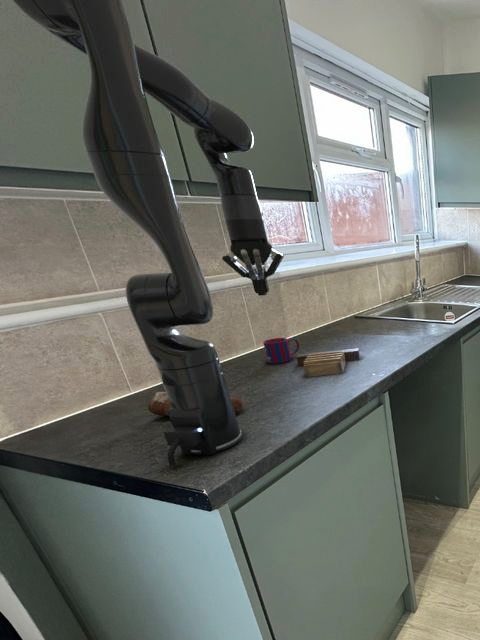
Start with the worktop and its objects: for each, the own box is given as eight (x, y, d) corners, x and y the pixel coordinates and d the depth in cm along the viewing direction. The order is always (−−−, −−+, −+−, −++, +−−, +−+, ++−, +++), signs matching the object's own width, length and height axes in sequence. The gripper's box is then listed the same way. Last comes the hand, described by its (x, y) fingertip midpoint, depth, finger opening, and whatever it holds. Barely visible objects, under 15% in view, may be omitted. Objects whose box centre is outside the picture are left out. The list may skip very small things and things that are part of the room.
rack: (343, 373, 121) (340, 359, 119) (305, 377, 118) (302, 363, 117) (346, 362, 130) (343, 349, 128) (311, 366, 127) (308, 353, 126)
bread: (170, 409, 100) (163, 388, 98) (249, 408, 99) (243, 386, 97) (149, 421, 94) (140, 398, 92) (232, 419, 93) (225, 397, 91)
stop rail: (359, 359, 133) (358, 350, 131) (298, 366, 128) (296, 356, 127) (360, 357, 135) (358, 348, 134) (300, 363, 131) (298, 354, 130)
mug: (266, 360, 134) (260, 340, 132) (298, 354, 140) (294, 334, 138) (271, 365, 129) (266, 344, 127) (305, 358, 135) (300, 338, 133)
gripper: (204, 218, 89) (226, 299, 95) (272, 216, 92) (289, 295, 99) (217, 218, 96) (237, 294, 102) (280, 217, 99) (295, 290, 105)
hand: (263, 294), depth 100 cm, fingers closed
